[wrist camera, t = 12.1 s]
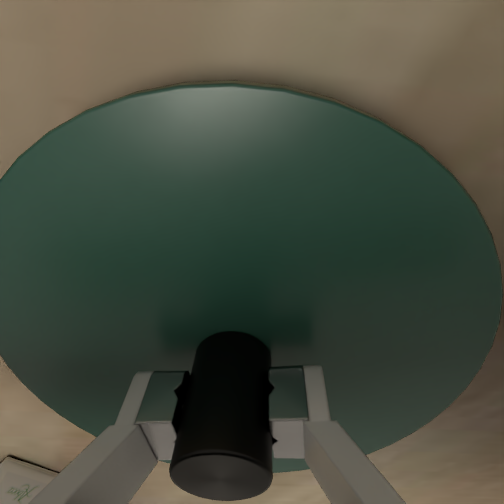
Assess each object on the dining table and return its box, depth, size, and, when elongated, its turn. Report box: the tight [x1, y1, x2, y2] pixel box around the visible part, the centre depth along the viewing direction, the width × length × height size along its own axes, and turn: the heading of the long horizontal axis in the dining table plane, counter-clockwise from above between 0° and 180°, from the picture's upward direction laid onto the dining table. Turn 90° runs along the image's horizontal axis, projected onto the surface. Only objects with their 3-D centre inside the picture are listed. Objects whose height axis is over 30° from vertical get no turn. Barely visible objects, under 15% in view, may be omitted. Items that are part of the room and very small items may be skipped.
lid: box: [0, 80, 503, 501], centre depth 10 cm, size 16×16×5 cm
